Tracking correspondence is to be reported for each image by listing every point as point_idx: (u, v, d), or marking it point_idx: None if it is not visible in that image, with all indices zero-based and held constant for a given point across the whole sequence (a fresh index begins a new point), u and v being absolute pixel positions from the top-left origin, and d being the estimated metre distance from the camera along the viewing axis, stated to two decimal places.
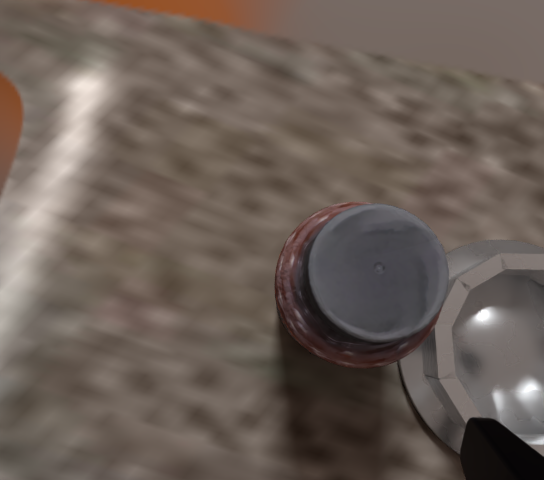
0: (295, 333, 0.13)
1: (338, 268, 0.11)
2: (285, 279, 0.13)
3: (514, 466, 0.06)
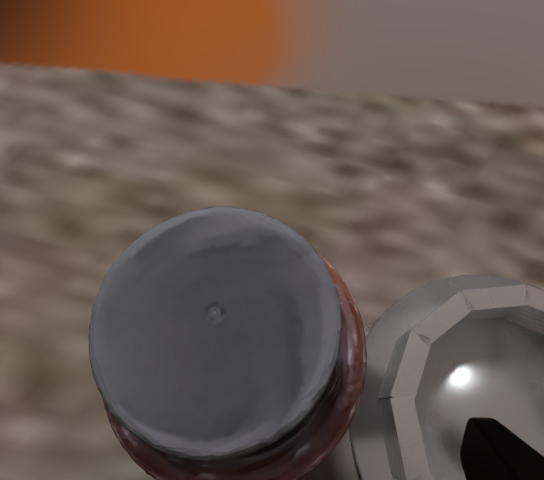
0: (124, 448, 0.08)
1: (141, 320, 0.06)
2: None
3: (514, 466, 0.06)
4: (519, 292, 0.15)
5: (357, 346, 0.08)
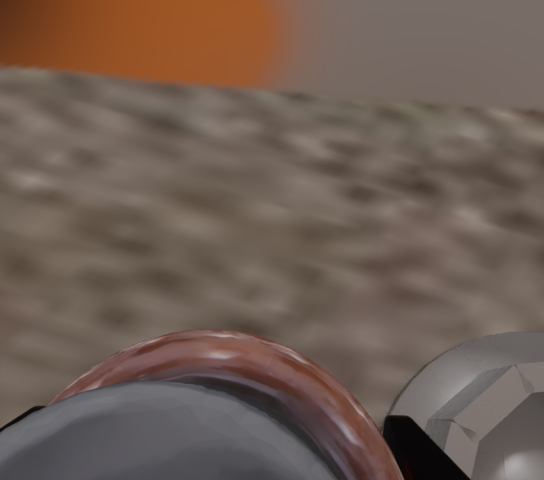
0: None
1: None
2: None
3: (413, 463, 0.06)
4: None
5: None
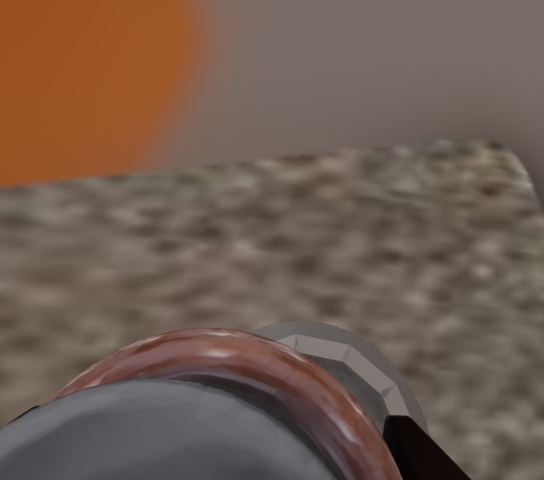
0: None
1: None
2: None
3: (413, 463, 0.06)
4: (290, 342, 0.18)
5: None
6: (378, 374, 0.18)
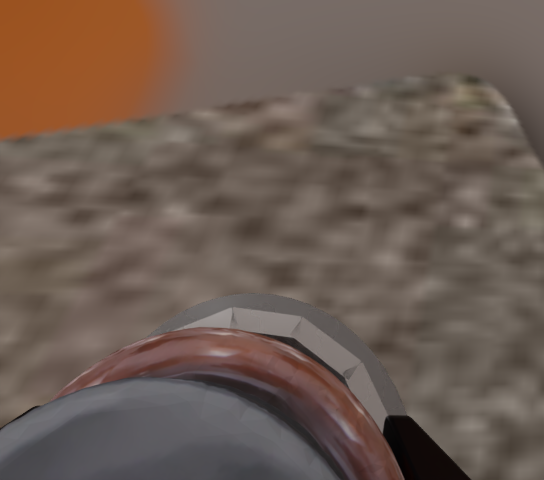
0: None
1: None
2: None
3: (413, 463, 0.06)
4: (225, 318, 0.14)
5: None
6: (339, 350, 0.14)
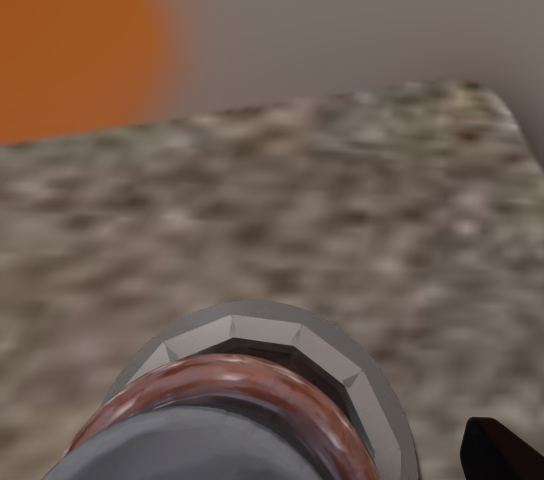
0: None
1: None
2: None
3: (514, 466, 0.06)
4: (224, 325, 0.14)
5: None
6: (339, 359, 0.14)
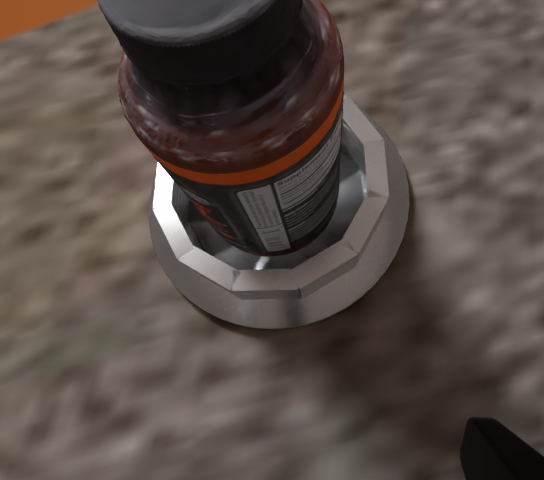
0: (150, 143, 0.09)
1: None
2: (122, 78, 0.10)
3: (514, 466, 0.06)
4: None
5: (330, 31, 0.09)
6: None
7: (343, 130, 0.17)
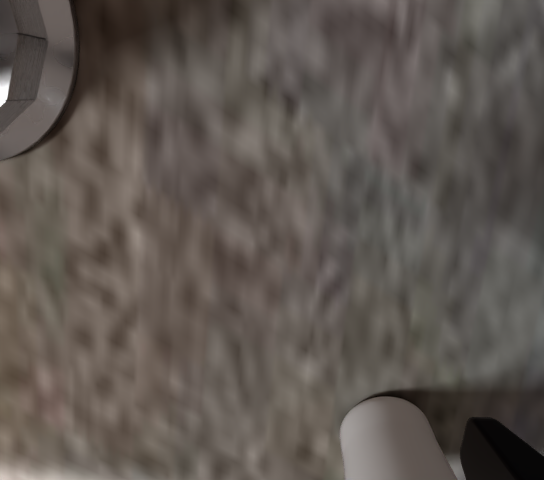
0: None
1: None
2: None
3: (514, 466, 0.06)
4: None
5: None
6: None
7: None
